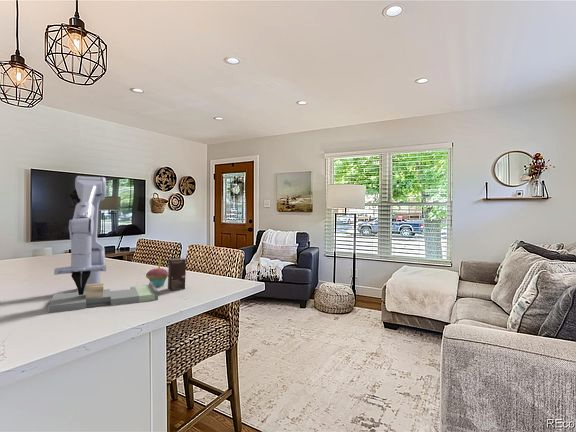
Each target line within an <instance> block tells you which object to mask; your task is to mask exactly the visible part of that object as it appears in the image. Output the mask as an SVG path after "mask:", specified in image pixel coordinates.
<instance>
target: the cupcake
mask: <svg viewBox="0 0 576 432" xmlns="http://www.w3.org/2000/svg"><path fill="white" fill-rule="evenodd" d="M161 263H162V257H160V258H159V259H158V268H153V269H150V270H149V271H147V272H146V273H145V277H146V278H147V279H148V280H149V282H152V283H153V284H154V286H155V287H156V288H159V287H163V286H164V285H165V282H166V279H168V270H166V269H164V268H161Z"/></svg>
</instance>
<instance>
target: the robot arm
mask: <svg viewBox="0 0 576 432" xmlns="http://www.w3.org/2000/svg"><path fill="white" fill-rule="evenodd" d="M74 186H75V190H76V194H77V197H78V199H79V200H80V201H79V202H78V203H77V204H76V205H75V207H74V212H73V216H72V219H69V222H68V232H69V240H70V241H71V242H70V266H63V267H55V268H54V269H53V270H54V272H53V275H55V276H57V275H65V274H66V275H67V274H70V275H71V278H72V280H73V281H74V284H75V285H76V288H77V289H76V292H78V294H79V295H83V294H84V291H86V284H97V283H101V272H107V264H105V263H106V251H105V246H104V244H101V243H100V242H98V229H99V227H98V225H99V206H100V202H101V201H104V200H106V195H107V179H106V177H104V176H101V177H100V176H85V175H84V176H82V175H77V176H76V177H75V181H74Z"/></svg>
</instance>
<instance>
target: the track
mask: <svg viewBox="0 0 576 432" xmlns="http://www.w3.org/2000/svg"><path fill="white" fill-rule="evenodd" d="M148 283H149V284H148V285H137V286H130V289H120V290H119V289H118V290H110V288H108V289H103V296H102V297H92V298H86V291H84V294H83V295H79V294H78V292H77V291H74V292H65V293H56V294H54V295H53V296H52V299H51V300H50V302H49V304H48V308H47V309H48V313H57V312H65V311H74V310H82V309H89V308H91V309H92V308H100V307H106V306H115V305H116V306H117V305H123V304H132V303H141V302H142V303H144V302H149V301H158V300H159V290H158V289H157V288H158V287H155V286H154V284H153V283H152V282H150V281H149V282H148Z"/></svg>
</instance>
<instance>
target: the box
mask: <svg viewBox="0 0 576 432" xmlns="http://www.w3.org/2000/svg"><path fill="white" fill-rule="evenodd" d="M167 267H168V269H167V272H168V277H167V289H168V290H169V291H175V290H184V289H186V274H187V273H186V271H187V259H185V258H184V257H179V258H178V257H176V258H175V257H174V258H169V259H168V265H167Z"/></svg>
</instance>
